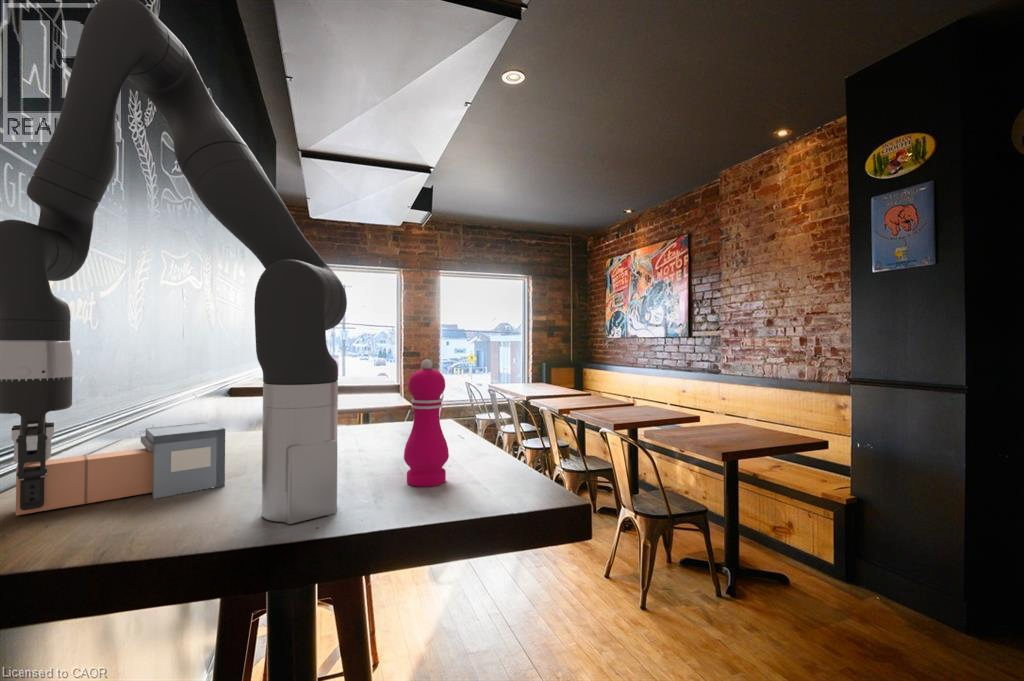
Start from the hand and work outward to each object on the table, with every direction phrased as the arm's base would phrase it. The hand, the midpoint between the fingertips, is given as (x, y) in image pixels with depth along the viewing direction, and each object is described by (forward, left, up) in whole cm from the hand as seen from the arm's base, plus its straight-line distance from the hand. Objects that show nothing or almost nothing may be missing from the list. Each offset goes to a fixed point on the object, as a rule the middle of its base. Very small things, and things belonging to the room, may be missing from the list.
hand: (32, 503), depth 63 cm
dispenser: (0, -17, -1) cm, 17 cm away
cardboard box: (0, -6, -1) cm, 6 cm away
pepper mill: (-24, -46, -1) cm, 52 cm away
